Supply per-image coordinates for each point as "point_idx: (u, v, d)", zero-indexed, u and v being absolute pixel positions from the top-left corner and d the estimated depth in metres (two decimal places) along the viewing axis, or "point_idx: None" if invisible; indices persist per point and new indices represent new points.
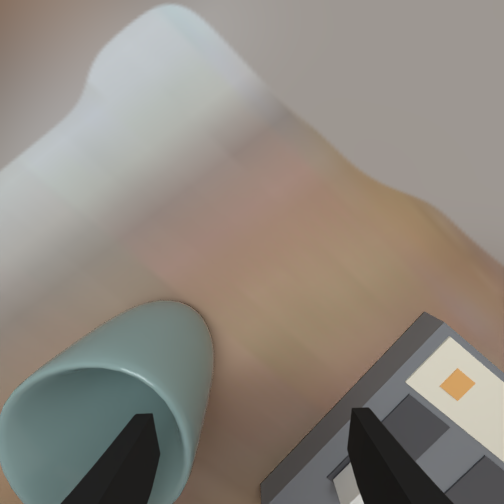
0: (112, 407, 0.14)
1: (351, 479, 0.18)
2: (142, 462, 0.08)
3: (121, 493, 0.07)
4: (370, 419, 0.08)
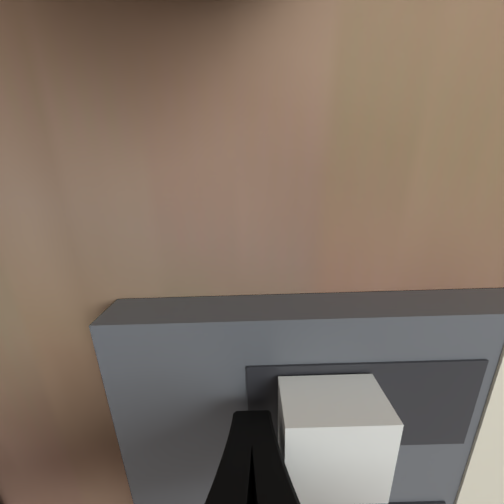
0: None
1: (326, 396, 0.08)
2: None
3: (250, 490, 0.07)
4: (262, 422, 0.08)
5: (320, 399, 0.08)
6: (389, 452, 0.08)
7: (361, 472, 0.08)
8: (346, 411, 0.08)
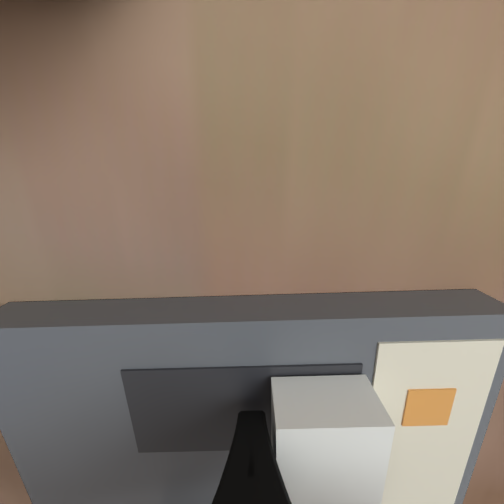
0: None
1: (318, 397, 0.08)
2: None
3: None
4: (255, 422, 0.08)
5: (312, 400, 0.08)
6: (381, 453, 0.08)
7: (353, 473, 0.08)
8: (338, 412, 0.08)
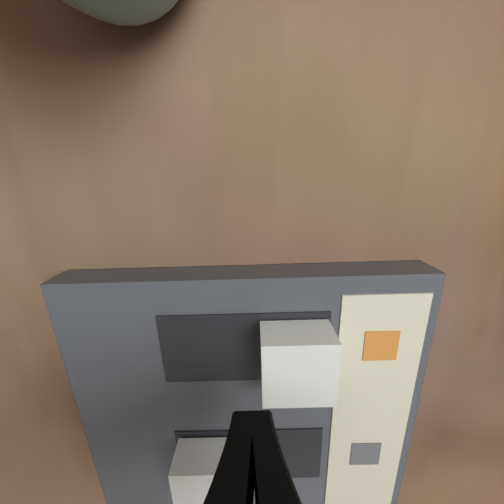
0: None
1: (292, 331, 0.12)
2: (252, 459, 0.08)
3: (249, 490, 0.07)
4: (263, 422, 0.08)
5: (288, 332, 0.12)
6: (333, 365, 0.11)
7: (315, 381, 0.11)
8: (304, 338, 0.11)
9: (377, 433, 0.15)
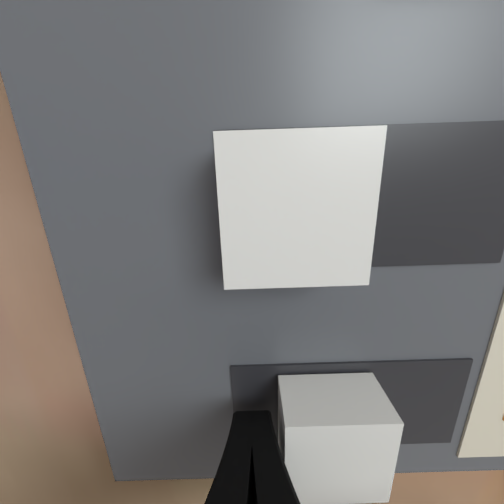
0: None
1: None
2: None
3: (250, 490, 0.07)
4: (262, 422, 0.08)
5: None
6: None
7: None
8: None
9: None
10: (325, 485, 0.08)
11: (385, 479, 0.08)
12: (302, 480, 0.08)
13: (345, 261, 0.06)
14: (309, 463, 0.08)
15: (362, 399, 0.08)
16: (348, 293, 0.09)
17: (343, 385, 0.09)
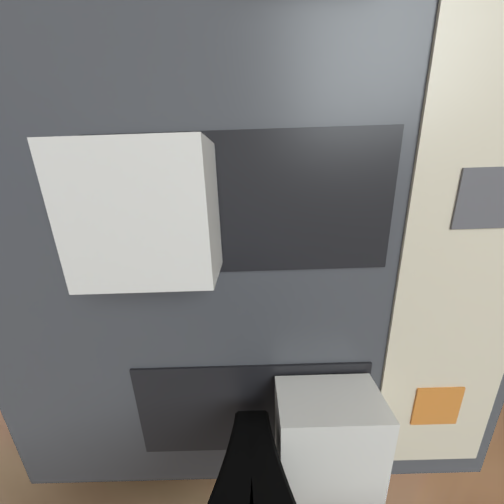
0: None
1: None
2: None
3: None
4: (259, 422, 0.08)
5: None
6: None
7: None
8: None
9: None
10: (322, 486, 0.08)
11: (381, 481, 0.08)
12: (298, 481, 0.08)
13: (185, 267, 0.06)
14: (305, 465, 0.08)
15: (359, 400, 0.08)
16: (238, 297, 0.09)
17: (340, 386, 0.09)
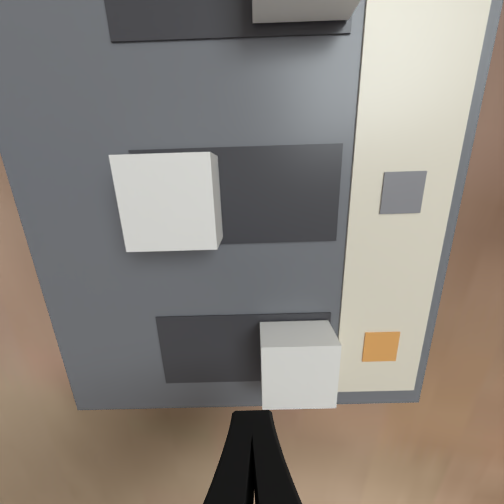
0: None
1: None
2: (252, 459, 0.08)
3: (249, 490, 0.07)
4: (263, 422, 0.08)
5: None
6: None
7: None
8: None
9: (421, 152, 0.11)
10: (290, 393, 0.12)
11: (332, 389, 0.12)
12: (274, 389, 0.12)
13: (199, 234, 0.09)
14: (278, 376, 0.11)
15: (317, 334, 0.12)
16: (234, 262, 0.12)
17: (305, 327, 0.12)
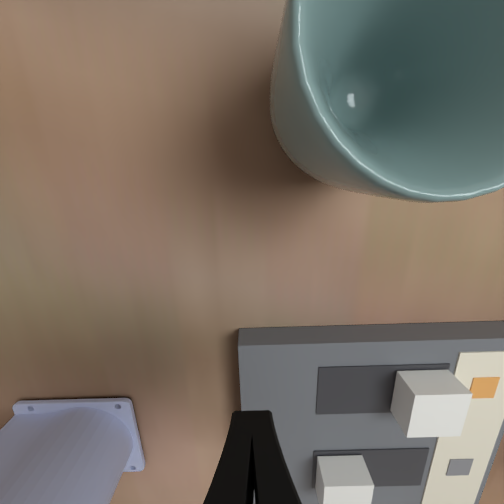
0: (329, 68, 0.09)
1: (428, 381, 0.16)
2: (252, 459, 0.08)
3: (249, 490, 0.07)
4: (263, 422, 0.08)
5: (426, 382, 0.16)
6: (464, 408, 0.16)
7: (449, 418, 0.16)
8: (442, 388, 0.16)
9: (470, 451, 0.20)
10: None
11: None
12: None
13: None
14: None
15: None
16: None
17: None
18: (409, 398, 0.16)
